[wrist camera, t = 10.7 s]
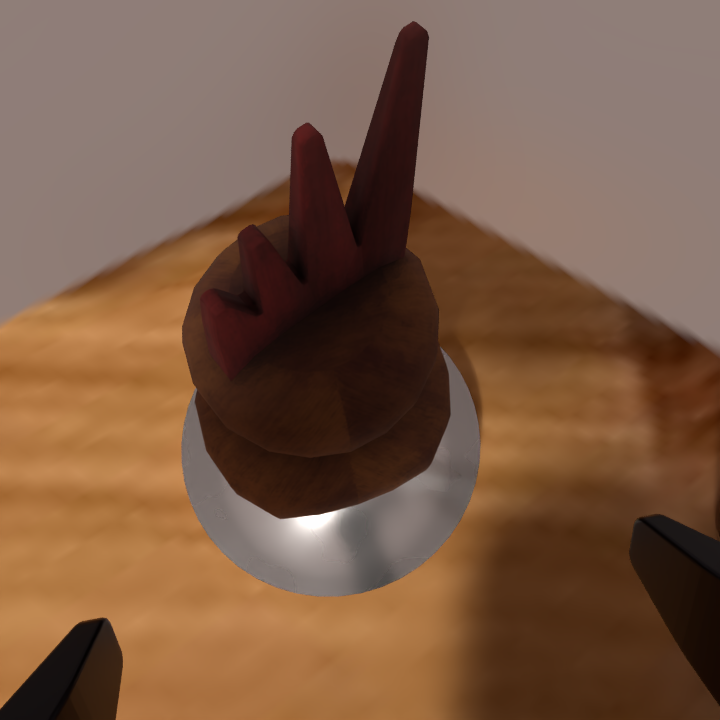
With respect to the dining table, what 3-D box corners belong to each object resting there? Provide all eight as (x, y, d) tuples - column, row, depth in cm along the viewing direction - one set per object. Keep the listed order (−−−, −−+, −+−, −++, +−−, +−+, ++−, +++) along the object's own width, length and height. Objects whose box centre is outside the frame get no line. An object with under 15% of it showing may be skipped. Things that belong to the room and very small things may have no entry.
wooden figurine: (393, 342, 21) (476, -119, 7) (447, 483, 19) (727, 258, 5) (225, 393, 20) (-90, -10, 6) (263, 546, 18) (-73, 504, 4)
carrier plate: (529, 481, 20) (541, 475, 19) (285, 661, 18) (279, 670, 17) (370, 274, 23) (370, 255, 22) (145, 405, 21) (131, 394, 20)
